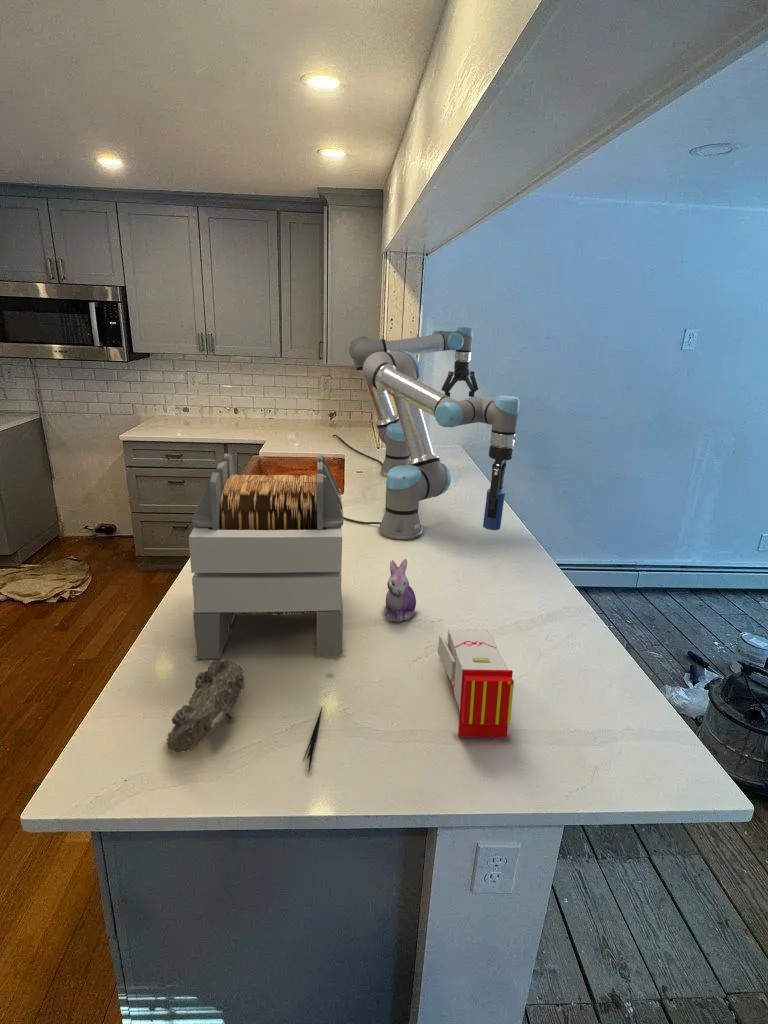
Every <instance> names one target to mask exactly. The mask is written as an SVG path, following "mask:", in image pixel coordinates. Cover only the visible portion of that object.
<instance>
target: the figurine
mask: <svg viewBox="0 0 768 1024" xmlns="http://www.w3.org/2000/svg"><path fill="white" fill-rule="evenodd" d="M407 567H408V559H406V558H404V559H403V560H402V561H401V563H400V565H399V566H398V565H397V563H396V562H395V561H394V560H393V559H391V560H390V561H389V570H390V576H389V578H388V579H387V589H388V591H387V592H386V594H385V595H386V596H385V607H384V615H385V616H386V620H387V621H391V622H395V623H400V622H402V621H406V620H409V619H410V618H411V617H413V616H414V615H415V610H416V606H417V597H416V593H415V591H414V590H413V587H411V586H410V582H409V579H408V577H407V574H406V571H407Z"/></svg>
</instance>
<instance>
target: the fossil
mask: <svg viewBox="0 0 768 1024" xmlns="http://www.w3.org/2000/svg"><path fill="white" fill-rule="evenodd" d="M243 670H244V669H243V667H242V665H240V664H237V662H236V661H235V660H234V659H232V658H231V659H227V658H226V659H224V660H223V661H222V660H217V659H212V660H211V661H210V663H209V665H208V666H207V671H201V672H199V673H198V674H197V675H196V676H195V680H194V684H195V685H194V687H195V689H194V690H193V693H192V694H191V697H190V698H189V700H188V704H184V705H182V706H181V707H180V709H177V710H176V711H175V713H174V715H173V716H172V718H171V723H172V724H173V727H172V730H171V731H170V732H168V734H167V738H166V741H167V742H166V745H167V749H168V750H169V751H173V752H174V753H176V754H178V753H182V752H188V751H189V752H192V751H193V750H195V748H196V747H197V746H199V744H200V743H201V742H203V741H204V740H205V739H206V738H207V737H208V736H209V735H210V734H211V733H212V732H214V730H215V729H217V727H218V726H219V724H220V722H221V721H222V720H223V719H224V718H225V716H226V717H227V719H229V720H233V717H232V715H230V714H229V710H230V709H231V708H234V706H235V704H236V703H237V702H238V699H239V697H240V695H241V693H242V691H243V690H245V689H244V688H245V675H244V671H243Z"/></svg>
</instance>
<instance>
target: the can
mask: <svg viewBox="0 0 768 1024" xmlns="http://www.w3.org/2000/svg"><path fill="white" fill-rule="evenodd" d="M503 490H504V489H502V490H501V489H499V493H498V505H497V513H496V519H495V518H489V517H487V515H488V507H489V499H488V498H487V497H489V494H490V488H488V489H487V490H486V496H485V497H486V498H485V506H484V513H483V522H482V527H483V528H484V529H486V530H489V531H499V530H501V525H502V519H503V511H504V503H505V498H506V497H505V495H506V491H505V490H504V491H503Z"/></svg>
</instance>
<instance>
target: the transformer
mask: <svg viewBox="0 0 768 1024" xmlns="http://www.w3.org/2000/svg"><path fill="white" fill-rule="evenodd" d="M316 457H317V458H316V463H317V465H316V466H317V467H316V475H309V476H308V475H304V474H303V475H302V474H301V475H298V476H295V475H293V474H272V475H265V474H242V475H241V474H235V472H234V458H233V453H227V452H225V453H224V454H223V456H222V458H221V460H219V461H218V464H217V466H216V468H215V469H214V470H215V471H214V472H211V475H210V477H209V479H208V481H207V484H206V486H205V488H204V489H203V493H202V494H201V496H200V499H199V502H198V504H197V507H196V509H195V510H194V513H193V516H192V518H191V520H192V526H193V528H192V530H191V532H190V534H189V536H188V547H189V558H190V559H189V560H190V572H191V574H193V575H192V577H191V584H192V585H191V586H192V597H193V609H194V610H193V612H192V614H193V615H192V617H193V618H192V619H193V629H194V640H195V648H196V655H195V657H196V659H197V660H203V659H220V657H221V654H222V652H223V649H224V648H225V645H226V643H227V640H228V638H229V636H230V626H232V625H233V621H234V618H235V616H250V615H251V616H253V615H254V616H256V615H257V616H260V615H263V616H265V615H267V616H269V615H275V616H276V615H277V616H278V615H305V614H306V615H308V614H309V615H311V614H313V615H316V657H335V658H337V657H340V656H342V655H343V647H344V646H343V644H344V643H343V642H344V641H343V640H344V639H343V638H344V608H343V607H344V606H343V605H344V604H343V595H342V579H343V577H342V567H343V566H342V565H343V564H342V562H343V530H342V529H343V528H342V527H343V525H344V520H345V519H344V517H345V516H344V510H343V500H342V494H341V493H342V492H341V491H340V488H339V486H338V484H337V482H336V480H335V477H334V475H333V474H332V471H331V469H330V466H329V465H328V462H327V461H326V458H325V456H324V454H320V453H317V455H316Z"/></svg>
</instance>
